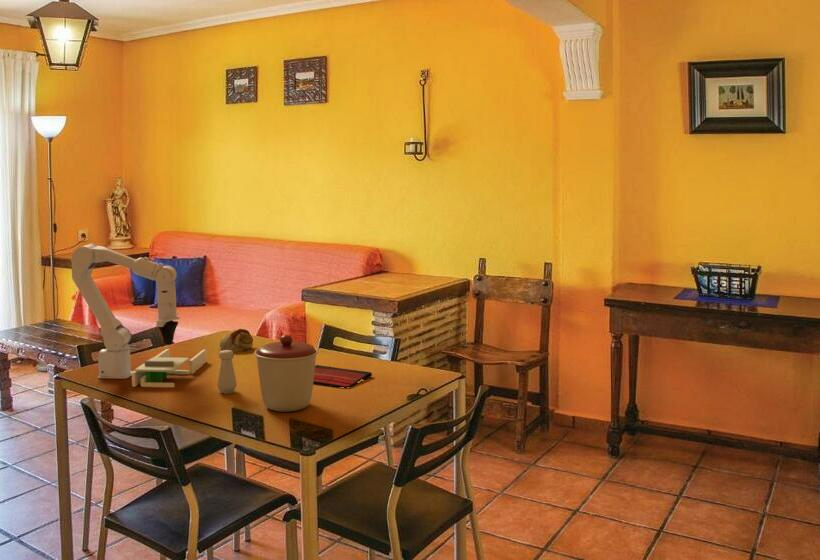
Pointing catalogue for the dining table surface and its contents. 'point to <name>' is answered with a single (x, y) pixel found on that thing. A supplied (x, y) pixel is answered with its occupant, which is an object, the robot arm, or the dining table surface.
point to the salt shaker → (226, 373)
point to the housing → (193, 365)
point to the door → (162, 364)
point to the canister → (286, 374)
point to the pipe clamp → (155, 376)
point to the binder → (338, 376)
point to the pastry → (237, 340)
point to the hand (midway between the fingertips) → (168, 344)
